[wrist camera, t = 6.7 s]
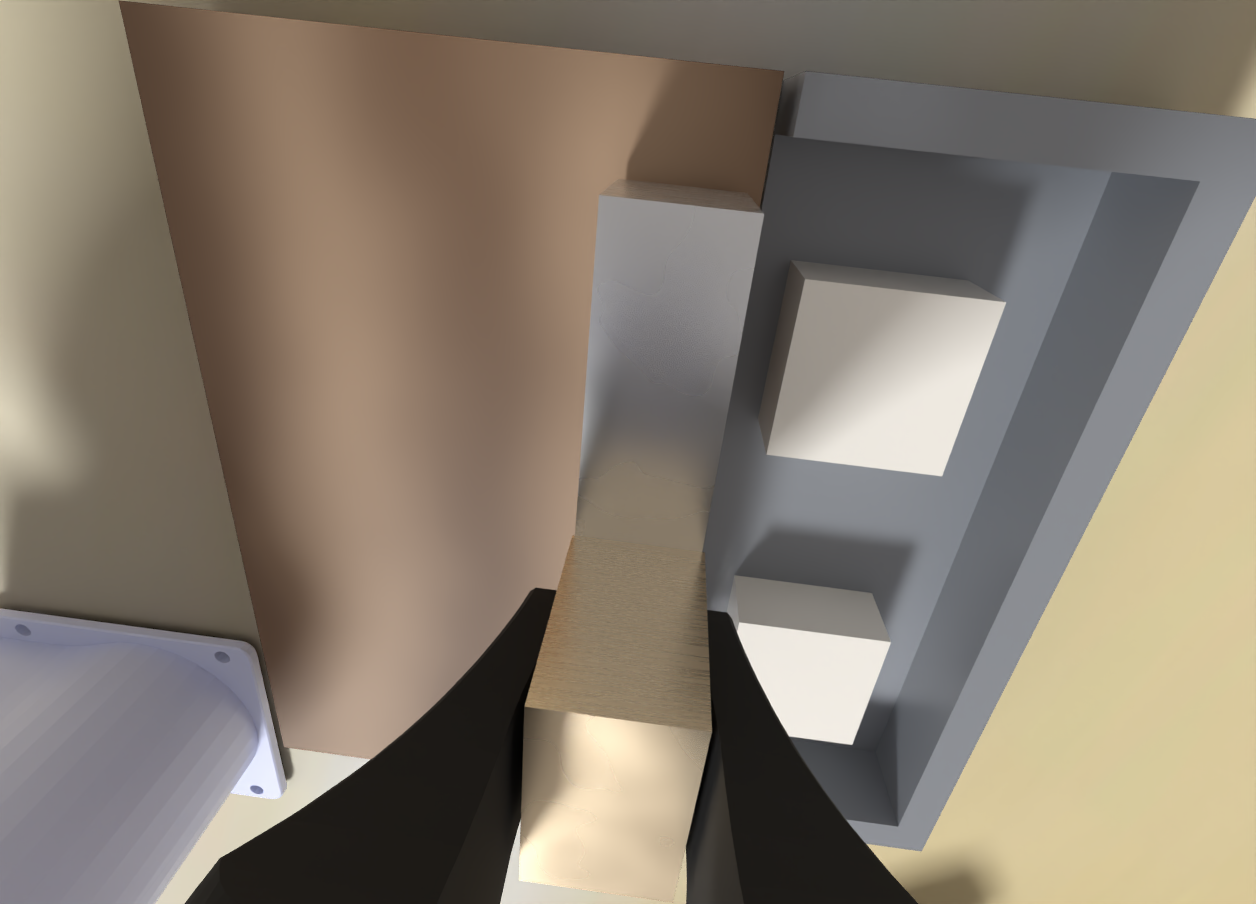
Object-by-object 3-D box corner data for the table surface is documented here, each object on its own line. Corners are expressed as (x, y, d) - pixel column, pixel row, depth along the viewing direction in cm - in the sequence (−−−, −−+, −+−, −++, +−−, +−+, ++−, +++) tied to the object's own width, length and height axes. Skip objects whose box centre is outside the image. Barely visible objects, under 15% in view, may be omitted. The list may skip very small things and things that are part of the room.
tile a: (712, 674, 21) (715, 726, 19) (734, 575, 19) (739, 622, 17) (838, 691, 21) (852, 744, 19) (872, 592, 19) (891, 642, 17)
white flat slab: (569, 753, 19) (513, 1050, 13) (616, 178, 12) (539, 238, 6) (652, 763, 19) (634, 1068, 13) (750, 193, 12) (817, 270, 6)
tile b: (758, 418, 17) (766, 454, 15) (790, 259, 15) (805, 278, 13) (914, 438, 16) (942, 476, 15) (967, 280, 15) (1006, 302, 13)
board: (322, 686, 23) (283, 747, 21) (209, 19, 14) (118, 0, 12) (656, 732, 23) (653, 798, 21) (768, 79, 14) (784, 71, 11)
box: (665, 733, 23) (662, 814, 20) (782, 81, 14) (806, 70, 11) (893, 764, 22) (921, 851, 20) (1171, 122, 13) (1293, 123, 11)
